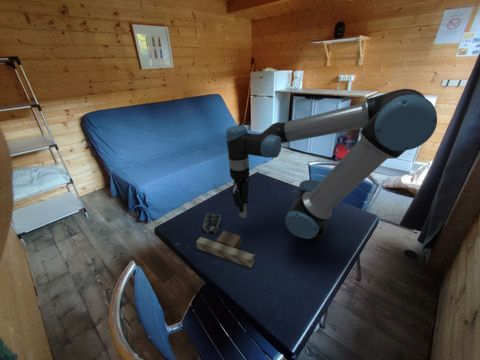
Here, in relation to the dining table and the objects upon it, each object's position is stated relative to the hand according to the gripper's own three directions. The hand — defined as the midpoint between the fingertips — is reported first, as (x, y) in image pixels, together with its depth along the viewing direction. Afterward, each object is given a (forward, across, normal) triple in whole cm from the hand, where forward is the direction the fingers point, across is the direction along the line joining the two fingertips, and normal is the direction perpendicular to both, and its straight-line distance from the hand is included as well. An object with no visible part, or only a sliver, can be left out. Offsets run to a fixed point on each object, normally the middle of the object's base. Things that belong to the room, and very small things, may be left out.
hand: (243, 216), depth 98 cm
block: (+8, +11, -2) cm, 14 cm away
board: (+8, +16, -1) cm, 18 cm away
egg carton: (+8, +3, -15) cm, 17 cm away
